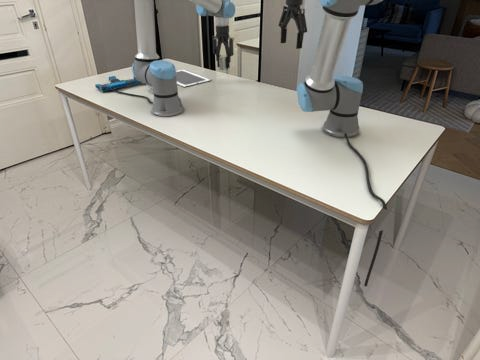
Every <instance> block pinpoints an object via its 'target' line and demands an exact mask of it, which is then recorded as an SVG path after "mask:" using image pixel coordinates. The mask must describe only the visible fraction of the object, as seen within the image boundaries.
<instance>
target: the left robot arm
mask: <svg viewBox="0 0 480 360" xmlns="http://www.w3.org/2000/svg"><path fill="white" fill-rule="evenodd" d="M188 1H189V2H191V3H193V4H195V11H196V13H197V14H198V16H200V17H206V16H209V17H214V19H215V20H214V21H215V23H214V24H215V33H216V34H215V35H212V36H211V40H212V54H213V55H215V61H216V62H217V64H216V65H217V66H216V67H217V68H219V56H222V54H221V49H222V44H223V46H224V49H225V54H226V56H227V57H226V69H228V70H229V69H230V67H231V66H230V64H231V62H232V61H231V59H232V58H231V57H233V56H234V40H235V38H234V37H231V36H230V19H232V18H233V17H234V16H235V14H236V4H235V3H234V2H233V1H230V0H188ZM133 3H134V16H135V30H136V44H137V45H136V46H137V53H136V54H135V55H134V61H133V63H132V65H131V72H132V76H134V77H135V78H136V79H137V80H138V81H140V82H141V83H140V84H143V85H146V86H147V85H149V86H151V87H153V93H152V94H153V100H152V101H151V100H150V98H149V97H148V96H145V95H139V94H134V93H128V92H123V91H120V90H117V89H114V91H113V92H116V93H119V94H121V95H127V96H132V97H138V98H143V99H146V100H147V101H148V103H149V104H152V106H151V111H152V114H153V115H154V116H157V117H174V116H177V115H180V114H181V113H183V112H184V105H183V103H182V100H181V98H180V96H179V91H178V84H177V79H176V71H177V70H176V66H175V64H174V63H173V62H171V61H169V60H163V59H160V56H159V54H158V53H157V43H156V41H157V40H156V24H155V23H156V22H155V21H156V20H155V1H154V0H133ZM134 77H133V78H134Z"/></svg>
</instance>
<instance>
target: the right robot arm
mask: <svg viewBox="0 0 480 360" xmlns="http://www.w3.org/2000/svg"><path fill="white" fill-rule="evenodd" d="M383 1H384V0H319V2H320V4H321V6H322V11H323V13H324V14H325V15H324V17H323V21H322V26H321V30H320V34H319V38H318V41H317V46H316V50H315V54H314V58H313V62H312V66H311V71H310V73H308V74H307V75H306V76H305V78H304V82H300V83H298V85H297V88H296V97H297V102H298V106H299V108H300V109H301V111H303V112H305V113H308V112H309V113H314V112H324V111H329V112H328V115H327V117H326V120H325V121H324V123H323V126H322V130H323V132H324V133H325V134H326V135H329V136H332V137H335V138H339V139H341V138H342V139H345V140H346V143H347V145H348V147H349V148H350V149H351V150H352V151H353V152H354V153H355V154H356V156H358V157H359V159H360V160H361V162H362V163H363V166H364V170H365V176H366V184H367V188H368V192H369V193H370V195H371V196H372V197H373V198H375V199H376V200H378V201H379V202H380V203H381V205H382V207H383V209H384V210H387V209H388V207H387V204H386V201H385V200H384V199H383V198H382V197H380V196H378V195H377V194H375V192H374V190H373V189H372V185H371V179H370V172H369V167H368V164H367V161H366V159H365V158H364V157H363V155H361V153H360V152H359V151H358V150H357V149H356V148H355V147H354V146H353V145H352V143H351V142H350V140H349V138H354V137H356V136H357V135H359V132H360V125H359V118H358V117H359V116H358V114H359V111H360V110H359V109H360V105H361V100H362V95H363V90H364V83H363V81H362V80H360V79H359V78H356V77H353V76H348V75H340V74H339V75H336V76H335V77H334V74H335V71H336V68H337V65H338V63H339V59H340V55H341V52H342V49H343V45H344V42H345V40H346V36H347V33H348V30H349V27H350V23H351V20H352V19H353V18H355V17H356V16H357V15H358V13H359V10H360V8H361V6H362V7H363V6H372V5H377V4H379V3H381V2H383ZM303 3H304V0H285V5H283V7H282V13H281V16H280V19H279V22H278V27H279V28H280V44H285V43H287V33H288V25H289V23H290V22H291V19H292V20H294V22H295V25H296V28H297V31H298V32H297V34H296V35H297V36H296V45H295V48H296V50H299V49H300V50H301V49H303V43H304V35H305V33H308V27H307V26H308V25H307V20H306V15H305V14H306V13H305V12H306V9H305V8H301V6H302V5H303ZM333 77H334V78H333ZM383 232H384V230H383V229H382V230H380V231H378V236H377V241H376V244H375V248H374V252H373V255H372V258H371V262H370V264H369V268H368V271H367V274H366V278H365V281H364V284H363V286H364V287H367V286H368V284H369V280H370V277H371V274H372V271H373V268H374V265H375V261H376V259H377V255H378V252H379V248H380V244H381V241H382V237H383Z"/></svg>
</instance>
